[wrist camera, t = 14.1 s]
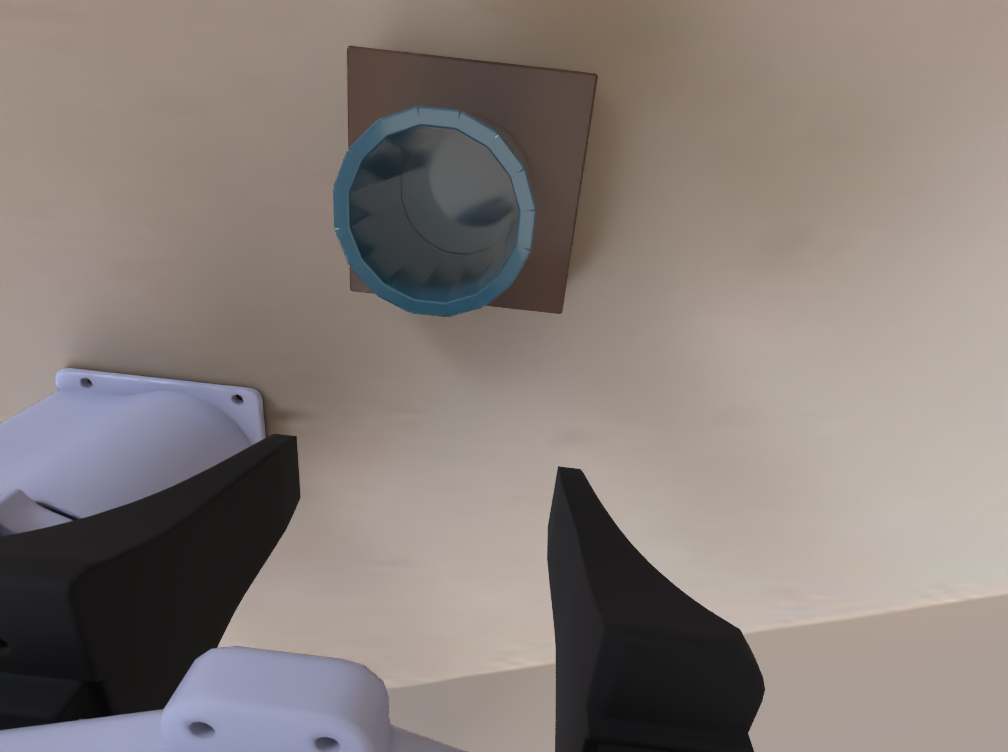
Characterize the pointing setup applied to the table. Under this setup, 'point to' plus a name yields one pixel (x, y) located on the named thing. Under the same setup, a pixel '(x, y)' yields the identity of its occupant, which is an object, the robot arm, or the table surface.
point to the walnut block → (513, 107)
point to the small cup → (435, 210)
